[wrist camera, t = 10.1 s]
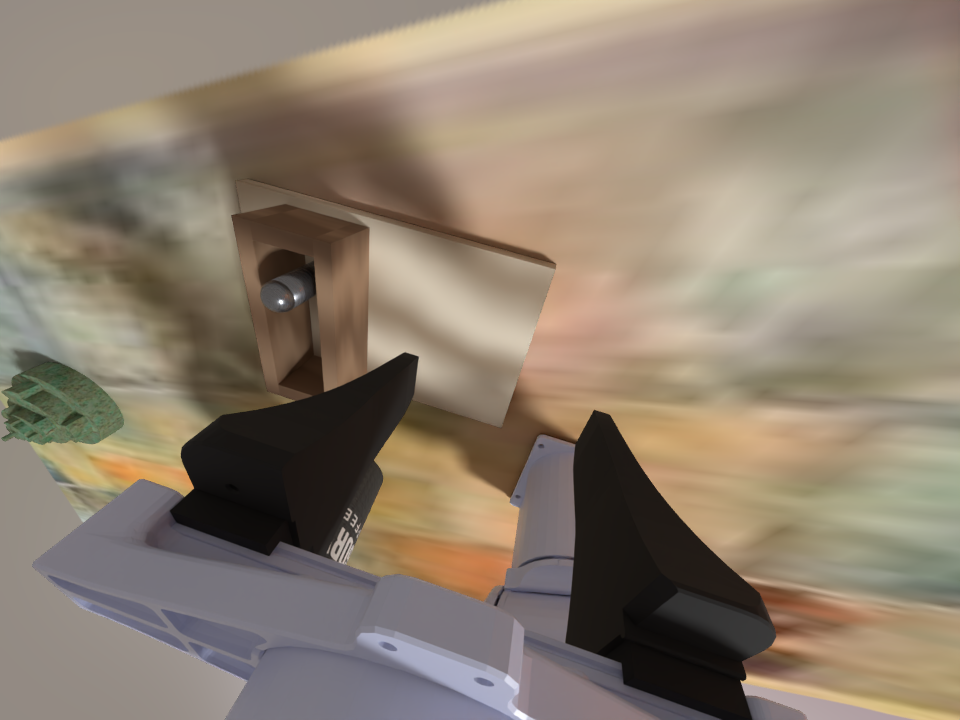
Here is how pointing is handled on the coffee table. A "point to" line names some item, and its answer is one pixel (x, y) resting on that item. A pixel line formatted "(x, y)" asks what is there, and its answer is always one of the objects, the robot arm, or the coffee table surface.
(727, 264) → the coffee table surface
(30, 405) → the decorative artifact
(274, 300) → the peg
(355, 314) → the walnut link
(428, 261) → the birch board
